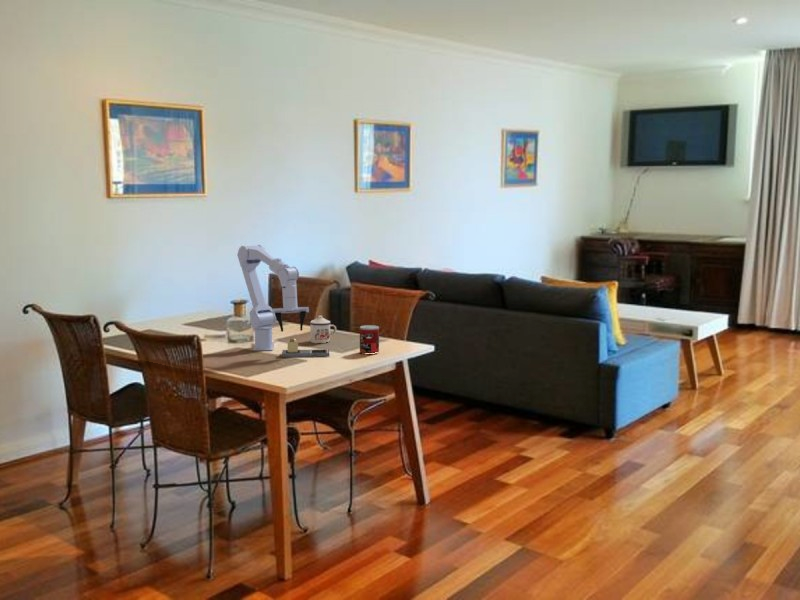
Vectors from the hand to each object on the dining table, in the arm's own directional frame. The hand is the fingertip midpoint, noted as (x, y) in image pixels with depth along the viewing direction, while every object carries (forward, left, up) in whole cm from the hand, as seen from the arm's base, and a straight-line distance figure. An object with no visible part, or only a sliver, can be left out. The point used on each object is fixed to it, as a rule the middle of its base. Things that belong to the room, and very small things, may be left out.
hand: (291, 330), depth 317 cm
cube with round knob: (-1, 0, -10) cm, 10 cm away
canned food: (-4, +32, -10) cm, 33 cm away
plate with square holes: (-1, +6, -10) cm, 12 cm away
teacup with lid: (-29, +13, -10) cm, 33 cm away
